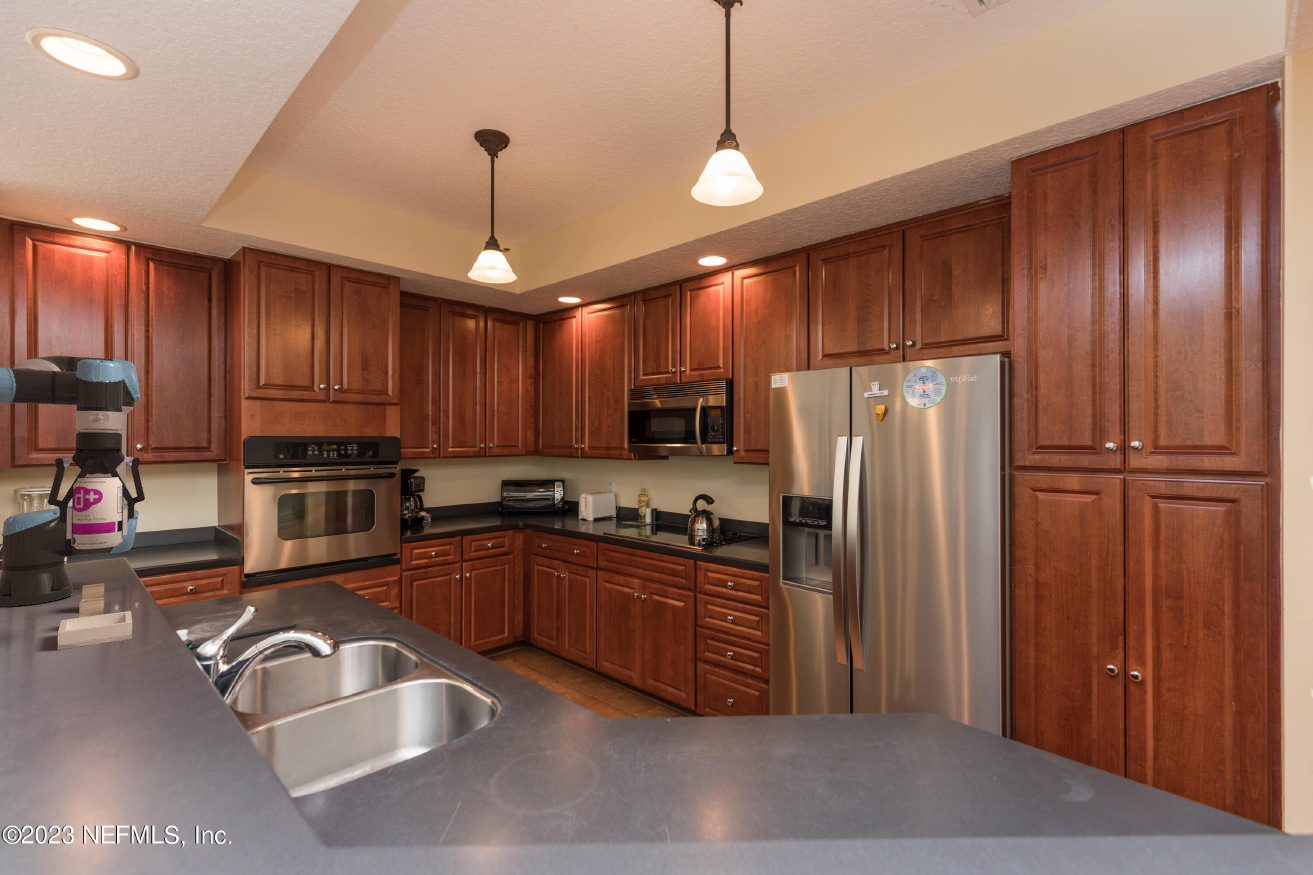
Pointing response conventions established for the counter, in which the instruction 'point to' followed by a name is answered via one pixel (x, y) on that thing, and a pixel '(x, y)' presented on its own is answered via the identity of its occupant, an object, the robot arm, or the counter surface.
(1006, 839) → the counter surface
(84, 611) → the birch block
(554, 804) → the counter surface
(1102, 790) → the counter surface
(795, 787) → the counter surface
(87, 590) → the maple block
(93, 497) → the supplement can
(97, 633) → the off-white tray
